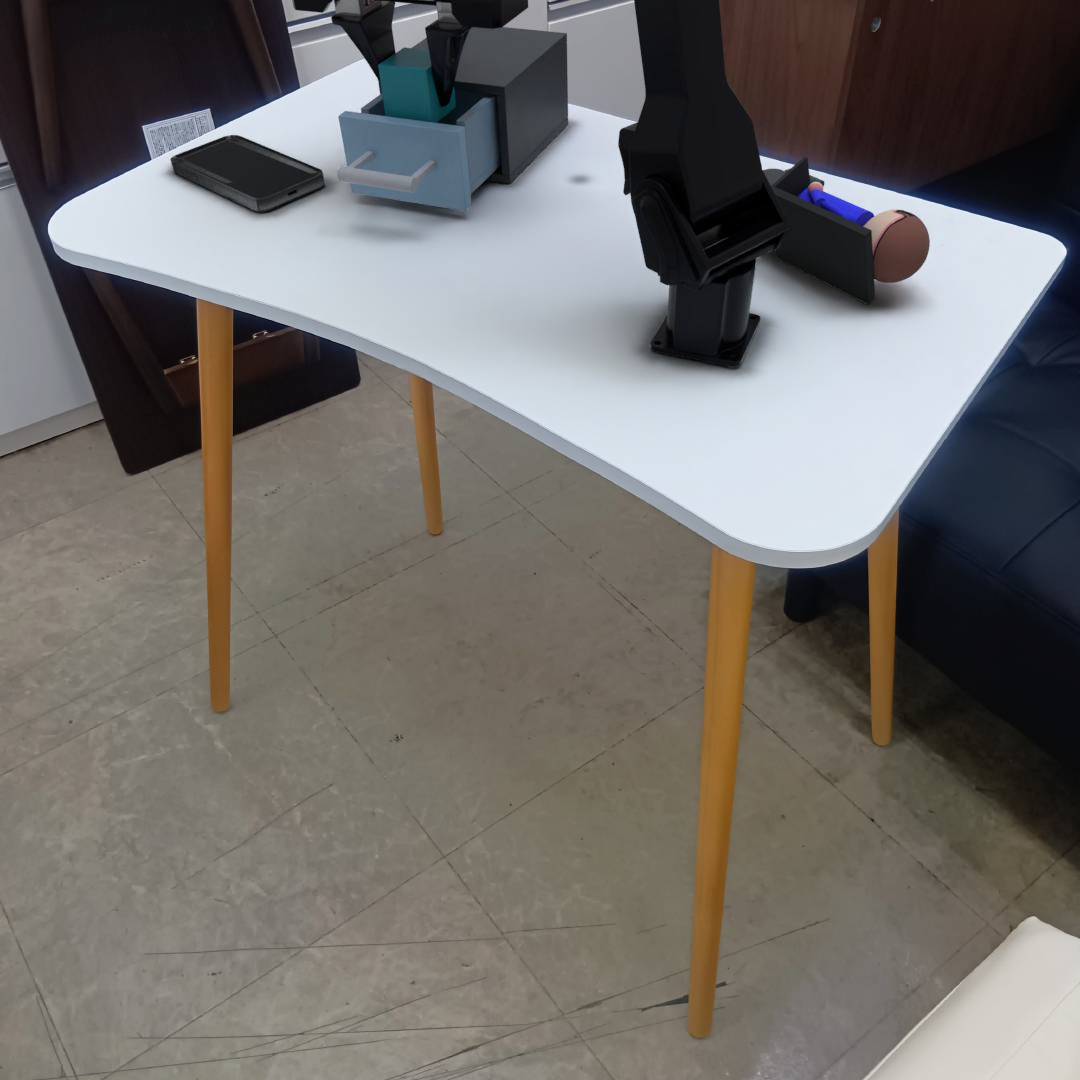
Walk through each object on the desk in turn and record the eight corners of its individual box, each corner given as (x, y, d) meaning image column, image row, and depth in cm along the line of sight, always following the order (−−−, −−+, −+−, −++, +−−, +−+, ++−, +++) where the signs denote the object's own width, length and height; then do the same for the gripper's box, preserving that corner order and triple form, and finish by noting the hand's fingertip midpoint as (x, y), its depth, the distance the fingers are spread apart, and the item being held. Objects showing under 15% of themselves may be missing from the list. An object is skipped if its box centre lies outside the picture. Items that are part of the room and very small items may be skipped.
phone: (233, 133, 97) (327, 171, 89) (236, 144, 98) (329, 183, 90) (164, 159, 93) (257, 202, 85) (168, 170, 94) (260, 214, 86)
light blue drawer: (440, 236, 80) (431, 155, 75) (323, 216, 84) (307, 137, 79) (527, 149, 92) (524, 74, 87) (421, 135, 96) (412, 62, 91)
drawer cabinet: (510, 184, 89) (504, 86, 83) (390, 166, 93) (376, 71, 87) (568, 124, 98) (567, 32, 92) (457, 110, 102) (449, 21, 96)
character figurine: (781, 227, 82) (926, 302, 73) (718, 248, 78) (861, 328, 70) (801, 133, 76) (959, 200, 68) (734, 150, 73) (891, 223, 64)
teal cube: (432, 126, 81) (426, 70, 78) (385, 120, 83) (377, 64, 80) (456, 107, 84) (451, 51, 81) (410, 101, 86) (403, 47, 82)
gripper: (551, -132, 74) (556, 80, 85) (342, -141, 80) (372, 60, 91) (491, -100, 67) (505, 128, 78) (265, -111, 73) (308, 103, 84)
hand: (420, 101), depth 83 cm, fingers closed on teal cube, 4 cm apart
